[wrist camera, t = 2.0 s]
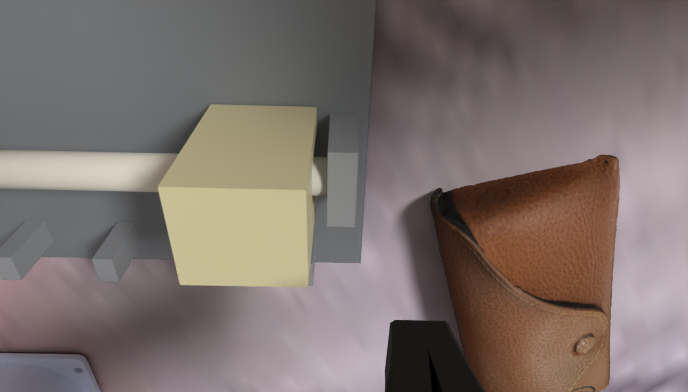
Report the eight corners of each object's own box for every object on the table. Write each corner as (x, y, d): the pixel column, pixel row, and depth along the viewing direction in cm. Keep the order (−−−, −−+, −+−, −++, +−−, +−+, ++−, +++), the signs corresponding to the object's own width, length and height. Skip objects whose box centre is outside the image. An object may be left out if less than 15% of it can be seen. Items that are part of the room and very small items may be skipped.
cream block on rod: (317, 106, 17) (306, 190, 13) (317, 187, 19) (308, 287, 14) (210, 104, 17) (157, 187, 12) (222, 185, 19) (179, 285, 14)
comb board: (375, -18, 16) (384, 8, 12) (359, 249, 23) (363, 319, 19) (-237, -35, 16) (-416, -14, 12) (-74, 240, 22) (-158, 309, 19)
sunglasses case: (617, 391, 29) (602, 500, 24) (502, 361, 33) (472, 450, 28) (622, 140, 19) (600, 245, 15) (461, 141, 23) (407, 223, 19)
